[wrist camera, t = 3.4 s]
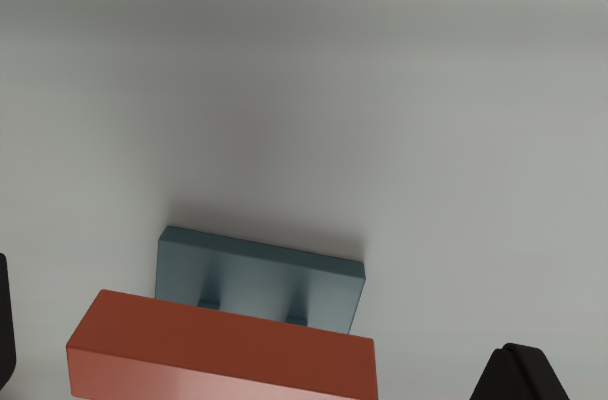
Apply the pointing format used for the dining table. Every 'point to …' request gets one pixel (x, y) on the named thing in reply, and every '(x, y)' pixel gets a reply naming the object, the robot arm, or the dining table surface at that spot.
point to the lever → (210, 355)
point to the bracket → (258, 280)
